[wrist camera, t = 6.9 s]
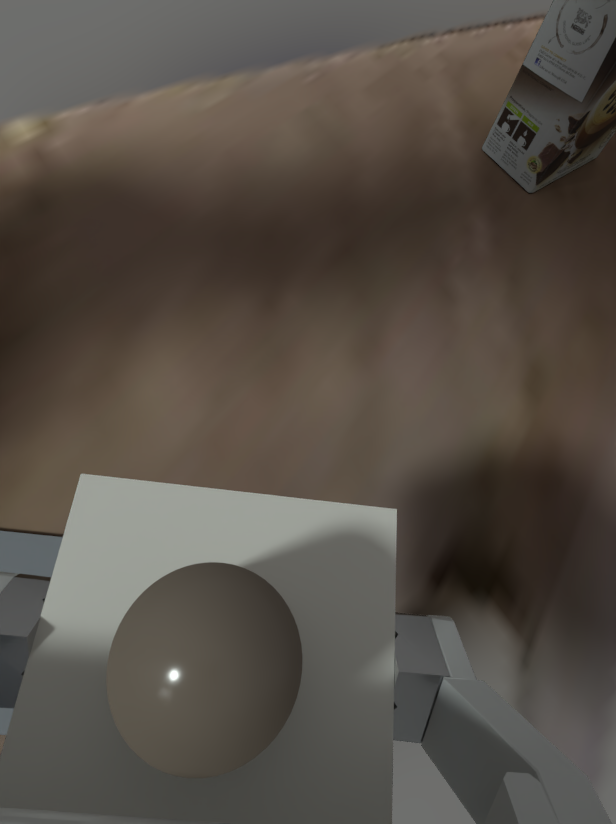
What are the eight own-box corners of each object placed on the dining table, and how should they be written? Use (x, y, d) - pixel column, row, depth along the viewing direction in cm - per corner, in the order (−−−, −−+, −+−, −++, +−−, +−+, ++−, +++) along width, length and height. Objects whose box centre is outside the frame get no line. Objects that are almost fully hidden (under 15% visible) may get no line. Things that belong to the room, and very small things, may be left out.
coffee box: (531, 197, 41) (684, -43, 27) (478, 149, 43) (595, -101, 28) (599, 159, 44) (772, -77, 29) (547, 115, 46) (686, -128, 31)
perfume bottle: (90, 757, 13) (-147, 946, 5) (141, 528, 15) (30, 428, 8) (334, 777, 13) (446, 981, 6) (347, 550, 16) (437, 476, 8)
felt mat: (-112, 723, 23) (-117, 724, 23) (-39, 527, 27) (-43, 526, 26) (86, 739, 23) (84, 741, 23) (131, 545, 27) (129, 544, 27)
